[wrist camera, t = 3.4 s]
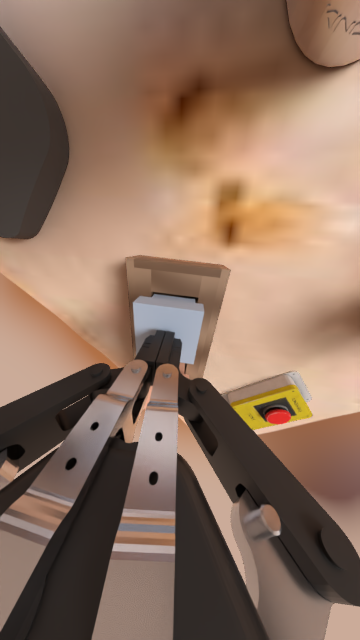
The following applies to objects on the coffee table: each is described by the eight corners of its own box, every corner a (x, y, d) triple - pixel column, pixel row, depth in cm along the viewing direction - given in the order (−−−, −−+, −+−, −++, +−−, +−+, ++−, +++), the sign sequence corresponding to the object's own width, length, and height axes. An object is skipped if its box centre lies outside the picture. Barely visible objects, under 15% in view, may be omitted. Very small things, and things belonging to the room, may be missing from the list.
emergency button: (330, 423, 22) (242, 440, 27) (310, 397, 26) (236, 416, 31) (315, 390, 19) (218, 417, 24) (295, 366, 23) (215, 394, 28)
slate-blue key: (148, 287, 15) (132, 302, 11) (201, 294, 14) (204, 311, 11) (149, 331, 17) (136, 356, 13) (193, 338, 17) (193, 364, 13)
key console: (140, 255, 17) (125, 257, 13) (222, 265, 16) (230, 270, 13) (144, 370, 26) (136, 389, 23) (196, 378, 26) (196, 399, 22)
